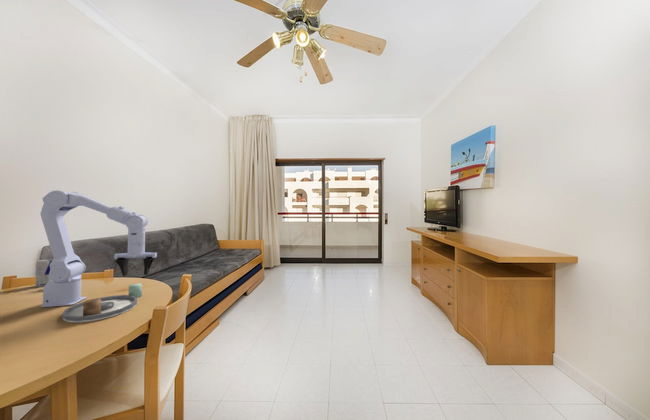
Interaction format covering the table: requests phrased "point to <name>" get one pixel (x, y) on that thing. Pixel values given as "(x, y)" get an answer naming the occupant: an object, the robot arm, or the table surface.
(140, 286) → the mint green cylinder
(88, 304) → the walnut bead
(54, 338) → the table surface
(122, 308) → the groove tray
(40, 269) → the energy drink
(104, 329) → the table surface
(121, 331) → the table surface
